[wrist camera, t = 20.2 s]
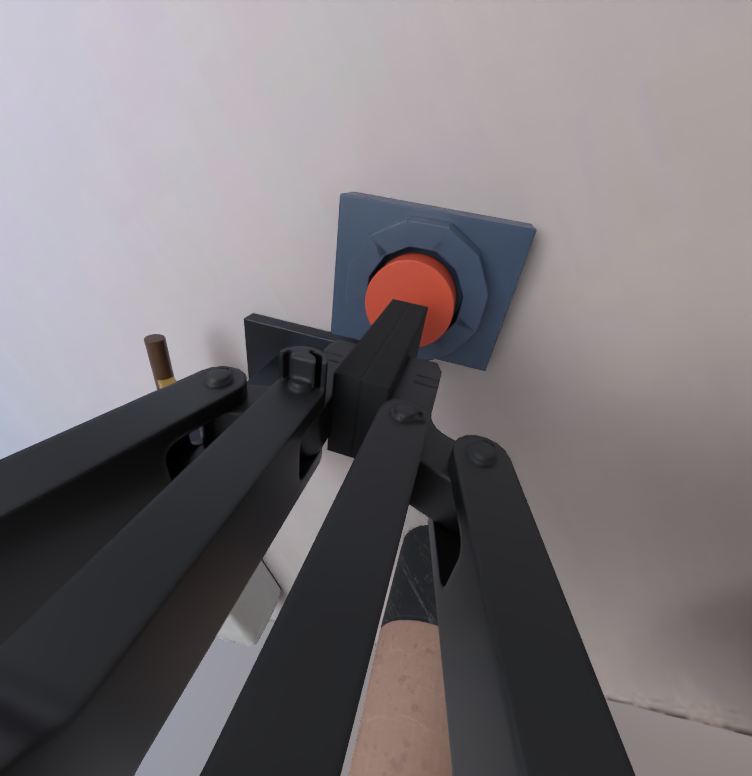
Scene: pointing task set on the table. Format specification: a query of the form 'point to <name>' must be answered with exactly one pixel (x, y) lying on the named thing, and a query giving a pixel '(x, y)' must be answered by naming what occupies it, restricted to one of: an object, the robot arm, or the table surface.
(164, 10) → the table surface
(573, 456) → the table surface
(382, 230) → the button box
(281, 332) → the tap bracket
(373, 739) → the travel mug
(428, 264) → the red button
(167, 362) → the tap lever
